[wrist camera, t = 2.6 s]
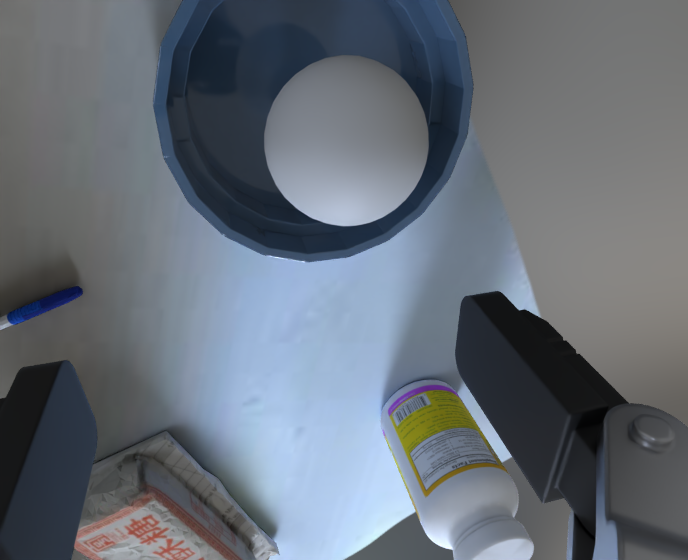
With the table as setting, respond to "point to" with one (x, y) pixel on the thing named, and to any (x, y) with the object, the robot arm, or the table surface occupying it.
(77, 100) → the table surface
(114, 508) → the packaged product
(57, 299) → the ballpoint pen
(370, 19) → the bowl
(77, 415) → the robot arm
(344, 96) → the lightbulb
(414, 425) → the supplement bottle
